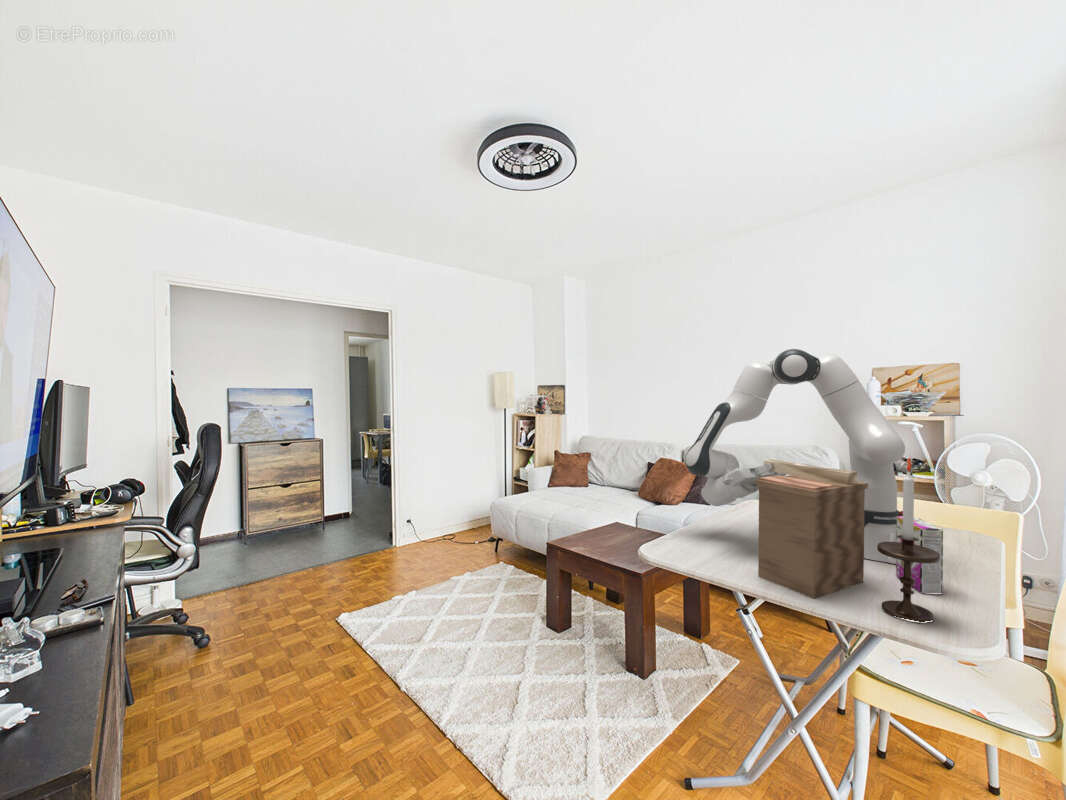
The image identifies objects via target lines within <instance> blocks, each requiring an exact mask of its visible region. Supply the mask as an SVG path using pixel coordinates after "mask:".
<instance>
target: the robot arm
mask: <svg viewBox="0 0 1066 800" xmlns="http://www.w3.org/2000/svg"><path fill="white" fill-rule="evenodd" d="M804 382H805V383H806V382H808V383H809V384H811V385H812V386H813V387H814V388H815V389H816V390H817V392H818V395H819V396H820V397H821V399H822V400H823V402H824V404H825V405H826V407H827V408H828V410H829V412H830V413H831V416H832V417H833V419H834V420H835V421H836V422H837V423H838V425H839V426H840V428H841V429H842V430H843V432H844V433H845V434H846V436H847V438H848V449H849V451H848V452H849V453H848V454H849V464H850V471H855V472H857V481H859V482H865V483H868V489H865V504H864V559H867V560H872V561H876V562H882V563H883V562H884V563H889V564H894V565H896V558H892V557H889V556H886V555H884V554H882V553H880V552H879V551H878V543H881V542H896V538H897V537H896V534H897V518H896V517H897V516H903V510H901V511H899V510H898V482H897V480H896V475H895V469H894V464H895V463H897V462H899V461H901V459H903V458H904V455H905V452H906V445H905V442H904V440H903V439H902V438H901V436H900V435H899V433H898V432H897V430H895V428H894V427H893V425H892V424H891V422H890V421H889V420H888V419H887V418H886V416H885V415H884V414H883V413H882V411H881V410H880V409H879V408H878V407H877V405H876V404H875V403H874V401H873V400H872V398H871V396H870V395H869V394H868V392H867V391H866V389H865V387H864V386H863V384H862V383H861V381H860V380H859V378H858V377H857V375H856V373H854V371H853V370H852V369H851V367H849V365H848V364H847V363H846V362H845V361H844V359H842V358H841V357H840V356H838V355H836V354H827V355H823V356H820V357H816V356H814V355H813V354H810V353H808V352H807V351H805V350H802V349H798V348H791V349H787V350H784V351H781V352H780V353H779V354H777V356H776V357H775V358H774V359H773V360H772V361H770V362H768V363H765V362H760V361H753V362H750V363H748V364H747V365H746V366H745V367H744V369H743V370H742V371H741V373H740V375H739V377H738V378H737V380H736V383H735V385H734V387H733V389H732V390H731V391H732V392H731V393H730V395H729V396H728V397H727V398H726V400H725V401H724V402H722V403H719V404H718V405H717V406H716V407H715V409H714V410H713V411H712V413H711V414H710V417H708V419H707V421H706V423H705V425H704V426H703V428H702V430H701V432H700V434H699V435H698V437H697V438H696V440H695V442H694V443H693V445H691V446H690V448H689V449H688V450H687V452H686V453H685V456H684V464H685V467H686V469H687V470H688V472H689V473H690V474H691V475H693V476H699V477H706V478H707V480H706V483H705V484H704V486H703V487H702V488H701V492H700V493H701V496H702V498H703V499H704V501H705V502H706V503H707V504H709V505H711V506H712V507H713V506H714V507H723V506H726V505H729V504H731V503H733V502H735V501H736V500H737V499H741V498H745V497H747V496H750V495H751V494H755V493H756V492H759V486H756V480H759V478H761V477H769V476H777V475H779V476H788V475H787V474H782V473H776V472H770V470H772V469H774V466H773V464H772V463H768V464H766V465H764V464H763V465H758V466H756V465H755V466H747V467H746V466H740V464H739V460H738V459H737V457H736V456H735V455H734V454H732V453H730V452H729V453H728V452H727V451H726V452H725V451H721V450H717V449H714V447H715V445H716V443H717V441H718V439H719V438H720V436H721V434H722V432H723V431H724V430H725V428H727V427H728V426H731V424H736V423H741V422H749V421H752V420H754V419H756V418H757V417H758V418H759V416H760V415H761V414H762V413H763V411H764V409H765V407H766V405H767V403H768V401H769V398H770V395H771V392H772V391H773V389H775V387H776V386H777V385H779V384H780V385H781V384H782V385H797V384H801V383H804Z"/></svg>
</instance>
